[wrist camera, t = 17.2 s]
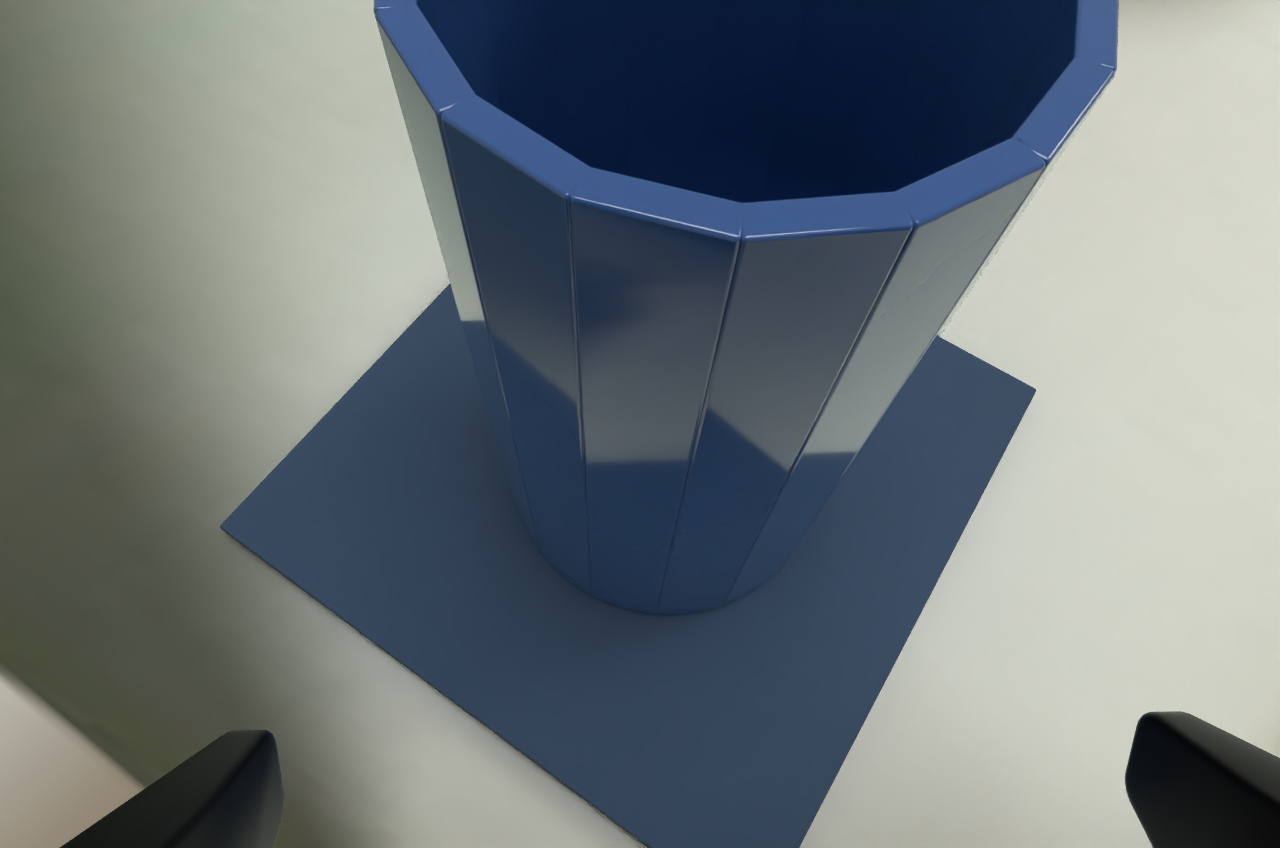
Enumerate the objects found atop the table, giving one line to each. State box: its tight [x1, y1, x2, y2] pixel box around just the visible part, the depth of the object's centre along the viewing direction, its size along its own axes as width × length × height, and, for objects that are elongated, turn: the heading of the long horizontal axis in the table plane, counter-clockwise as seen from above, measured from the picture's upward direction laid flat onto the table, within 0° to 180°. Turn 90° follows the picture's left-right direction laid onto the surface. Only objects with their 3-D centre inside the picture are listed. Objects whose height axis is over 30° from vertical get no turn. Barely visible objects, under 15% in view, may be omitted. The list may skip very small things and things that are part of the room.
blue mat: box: [220, 284, 1036, 848], centre depth 20 cm, size 14×14×1 cm
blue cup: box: [374, 0, 1119, 615], centre depth 14 cm, size 7×7×13 cm
